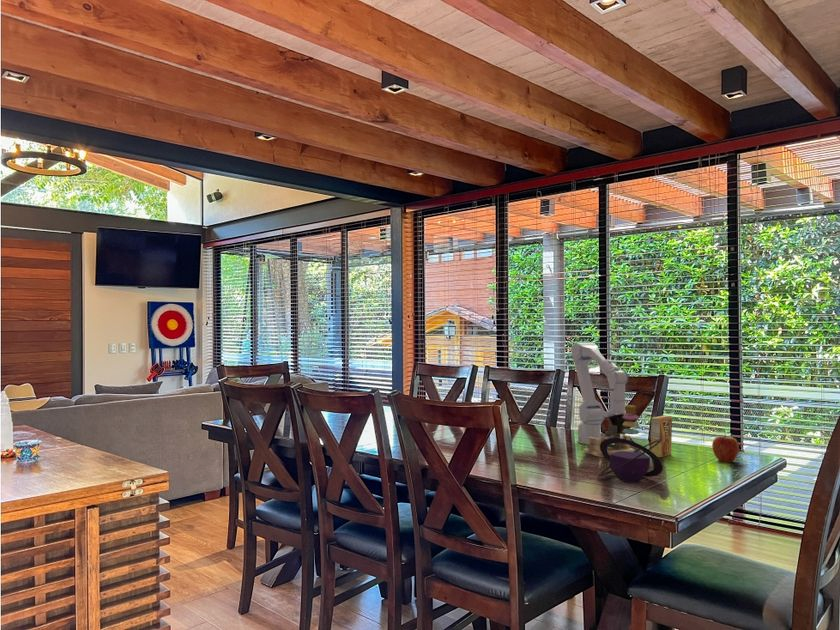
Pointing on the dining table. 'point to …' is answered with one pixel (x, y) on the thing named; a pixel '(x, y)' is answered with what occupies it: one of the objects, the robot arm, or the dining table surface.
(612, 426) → the dark grey z bracket
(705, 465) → the dining table surface
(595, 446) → the pipe stand
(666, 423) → the candy box
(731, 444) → the apple
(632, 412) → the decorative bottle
